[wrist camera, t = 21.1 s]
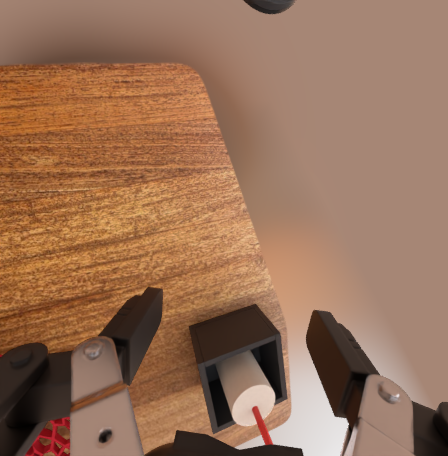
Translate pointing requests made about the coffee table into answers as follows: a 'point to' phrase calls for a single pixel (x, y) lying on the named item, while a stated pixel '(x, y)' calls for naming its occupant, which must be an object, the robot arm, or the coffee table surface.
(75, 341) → the coffee table surface
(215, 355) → the bin
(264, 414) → the paper cup
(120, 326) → the robot arm
